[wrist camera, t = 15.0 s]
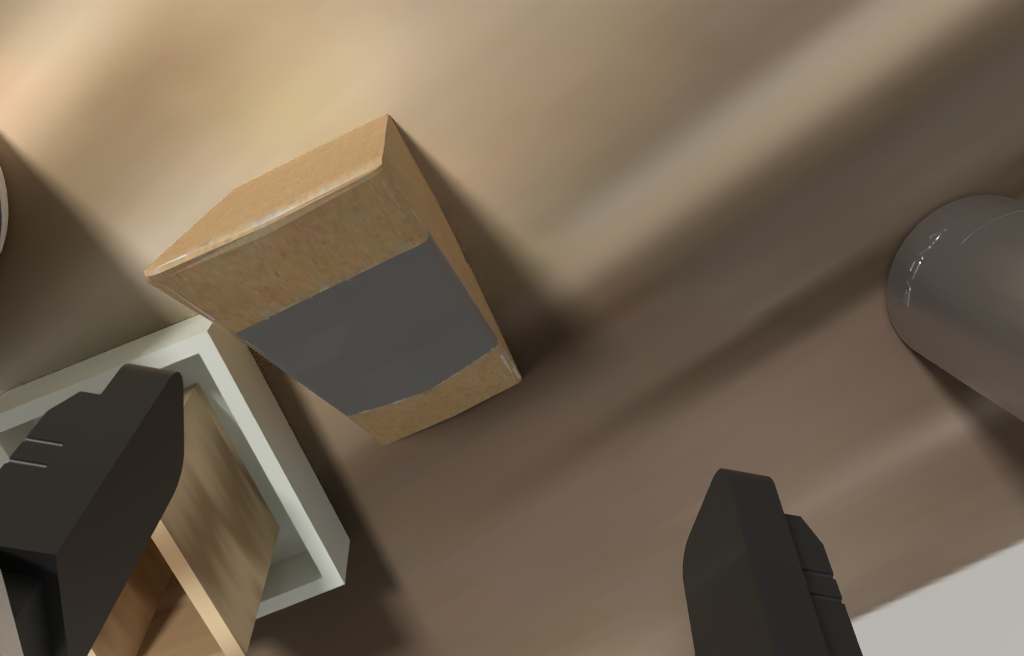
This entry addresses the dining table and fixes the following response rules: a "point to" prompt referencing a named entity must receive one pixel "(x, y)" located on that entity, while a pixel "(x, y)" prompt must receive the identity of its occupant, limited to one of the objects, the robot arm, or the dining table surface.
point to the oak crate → (198, 556)
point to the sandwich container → (347, 285)
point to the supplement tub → (3, 210)
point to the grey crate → (248, 423)
